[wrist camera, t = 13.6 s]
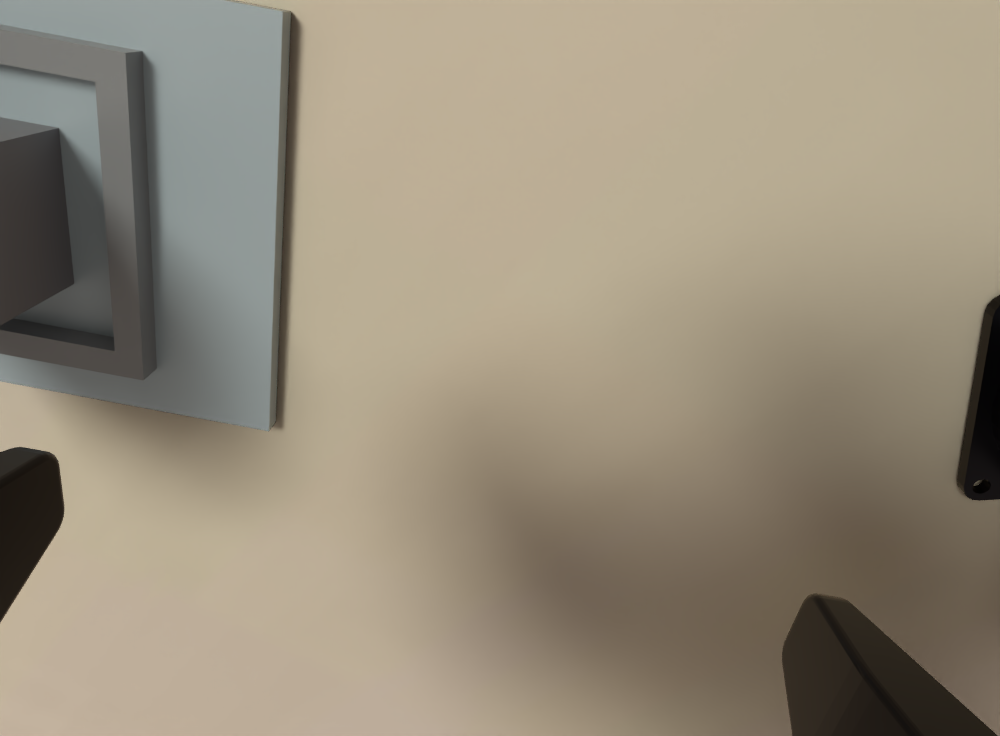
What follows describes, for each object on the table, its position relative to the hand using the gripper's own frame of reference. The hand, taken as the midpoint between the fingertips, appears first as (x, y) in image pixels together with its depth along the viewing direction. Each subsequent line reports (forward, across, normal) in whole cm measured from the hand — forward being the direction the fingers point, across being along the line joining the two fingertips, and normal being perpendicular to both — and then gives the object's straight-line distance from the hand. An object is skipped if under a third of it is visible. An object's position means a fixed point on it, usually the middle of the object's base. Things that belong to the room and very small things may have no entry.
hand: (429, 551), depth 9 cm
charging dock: (+13, +14, +1) cm, 19 cm away
